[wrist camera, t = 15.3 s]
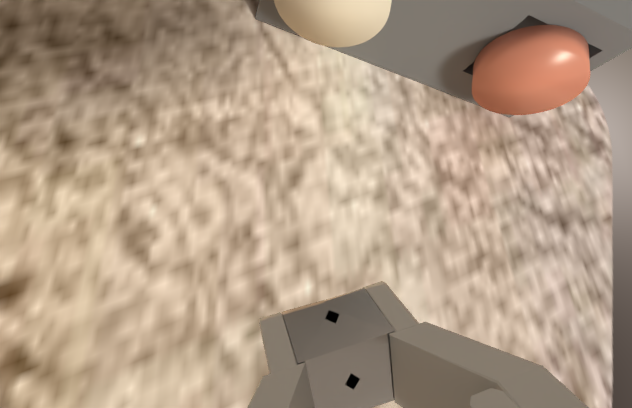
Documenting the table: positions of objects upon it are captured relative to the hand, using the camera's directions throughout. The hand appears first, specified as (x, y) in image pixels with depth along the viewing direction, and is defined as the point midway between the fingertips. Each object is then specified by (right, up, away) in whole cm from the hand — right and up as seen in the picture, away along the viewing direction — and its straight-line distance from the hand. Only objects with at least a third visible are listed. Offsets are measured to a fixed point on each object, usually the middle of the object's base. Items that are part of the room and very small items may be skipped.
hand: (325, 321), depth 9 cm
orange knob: (+14, +14, +22) cm, 30 cm away
